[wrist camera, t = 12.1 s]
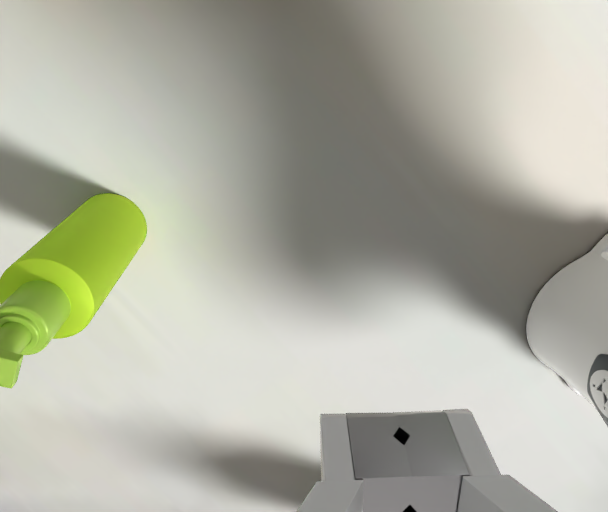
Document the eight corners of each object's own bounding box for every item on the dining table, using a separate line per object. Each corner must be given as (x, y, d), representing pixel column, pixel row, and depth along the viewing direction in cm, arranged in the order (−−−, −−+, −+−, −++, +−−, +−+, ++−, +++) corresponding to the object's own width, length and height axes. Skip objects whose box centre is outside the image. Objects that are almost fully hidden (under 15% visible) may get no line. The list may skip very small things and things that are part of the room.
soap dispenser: (75, 177, 41) (-94, 296, 23) (155, 208, 42) (56, 343, 24) (59, 236, 43) (-106, 388, 25) (136, 264, 44) (32, 426, 26)
